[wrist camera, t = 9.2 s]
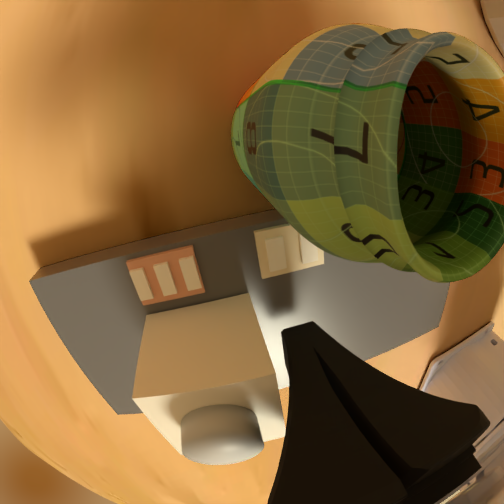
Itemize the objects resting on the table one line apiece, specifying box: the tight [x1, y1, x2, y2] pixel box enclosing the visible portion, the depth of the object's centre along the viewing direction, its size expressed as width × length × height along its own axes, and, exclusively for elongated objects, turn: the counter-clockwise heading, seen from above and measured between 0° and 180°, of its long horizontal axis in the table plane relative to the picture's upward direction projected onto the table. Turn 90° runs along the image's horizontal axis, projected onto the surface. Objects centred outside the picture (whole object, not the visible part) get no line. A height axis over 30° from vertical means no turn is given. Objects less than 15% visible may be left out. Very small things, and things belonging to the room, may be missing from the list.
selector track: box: [29, 209, 450, 415], centre depth 12 cm, size 20×9×2 cm, turn 100°
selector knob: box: [132, 293, 286, 465], centre depth 9 cm, size 4×4×5 cm
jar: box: [231, 23, 504, 283], centre depth 6 cm, size 5×5×8 cm
